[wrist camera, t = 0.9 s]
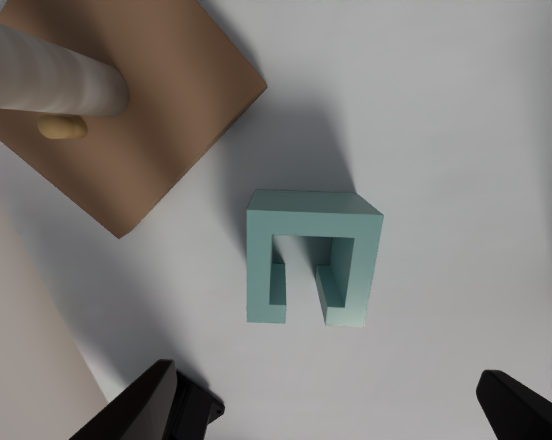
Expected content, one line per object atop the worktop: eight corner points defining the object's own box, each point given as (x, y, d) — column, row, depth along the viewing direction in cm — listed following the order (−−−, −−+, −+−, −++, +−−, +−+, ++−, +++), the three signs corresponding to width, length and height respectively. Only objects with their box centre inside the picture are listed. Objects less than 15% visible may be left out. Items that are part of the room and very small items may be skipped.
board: (130, 231, 19) (21, 303, 11) (-22, 102, 16) (-310, 73, 8) (267, 87, 16) (253, 41, 8) (105, -104, 13) (-168, -470, 5)
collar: (344, 281, 20) (363, 326, 15) (254, 277, 20) (246, 322, 15) (356, 193, 18) (383, 215, 13) (255, 189, 18) (246, 210, 13)
